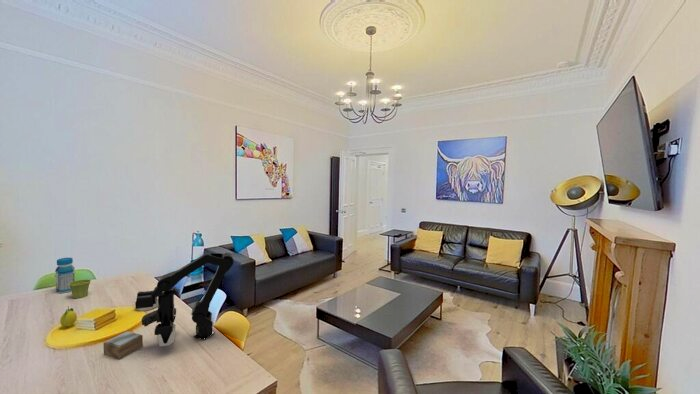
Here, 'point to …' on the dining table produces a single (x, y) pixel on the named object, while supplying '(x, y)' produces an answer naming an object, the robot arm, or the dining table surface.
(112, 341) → the walnut plinth
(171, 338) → the shot glass
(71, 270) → the beverage bottle
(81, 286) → the plant pot
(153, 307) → the ramekin
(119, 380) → the dining table surface
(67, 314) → the green pear
